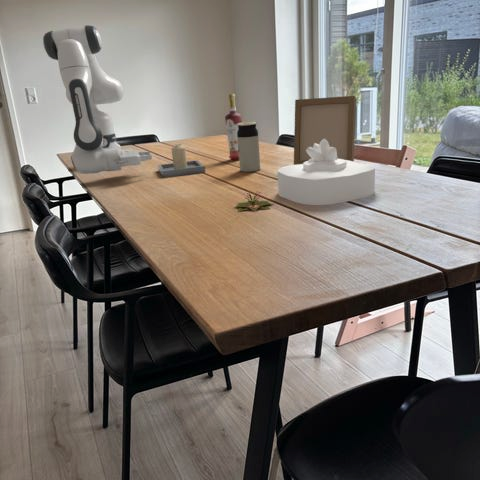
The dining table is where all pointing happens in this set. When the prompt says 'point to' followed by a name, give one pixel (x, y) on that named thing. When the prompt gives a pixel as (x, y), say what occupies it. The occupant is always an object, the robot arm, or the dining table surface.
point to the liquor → (233, 128)
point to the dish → (192, 168)
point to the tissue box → (325, 178)
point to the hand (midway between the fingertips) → (150, 155)
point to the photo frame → (325, 126)
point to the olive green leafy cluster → (253, 203)
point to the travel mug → (248, 147)
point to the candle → (179, 156)
